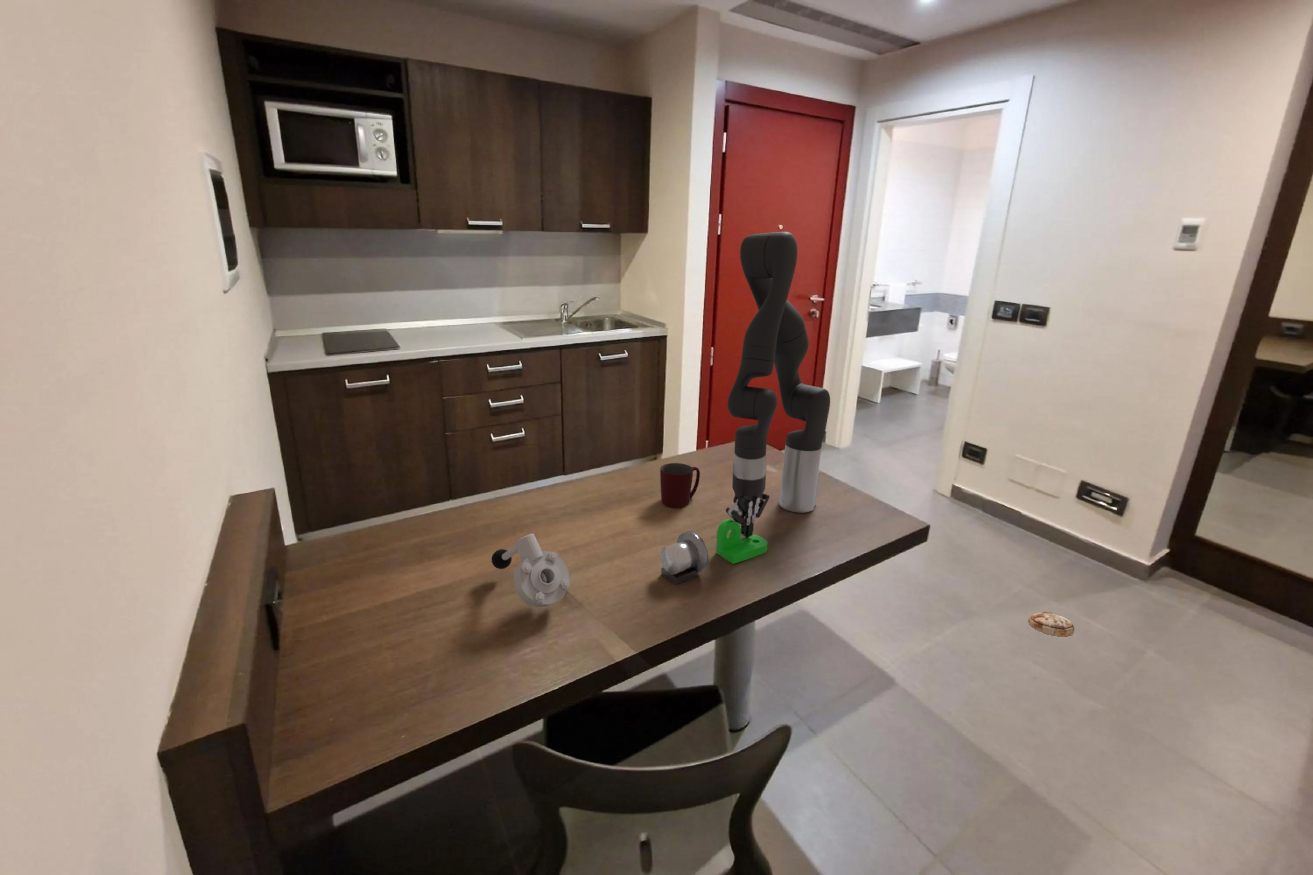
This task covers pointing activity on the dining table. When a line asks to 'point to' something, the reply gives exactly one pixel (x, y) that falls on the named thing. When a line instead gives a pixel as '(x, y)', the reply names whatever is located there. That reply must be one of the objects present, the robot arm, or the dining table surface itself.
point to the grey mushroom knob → (684, 558)
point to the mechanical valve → (535, 572)
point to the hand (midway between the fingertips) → (746, 535)
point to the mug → (677, 484)
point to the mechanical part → (738, 543)
